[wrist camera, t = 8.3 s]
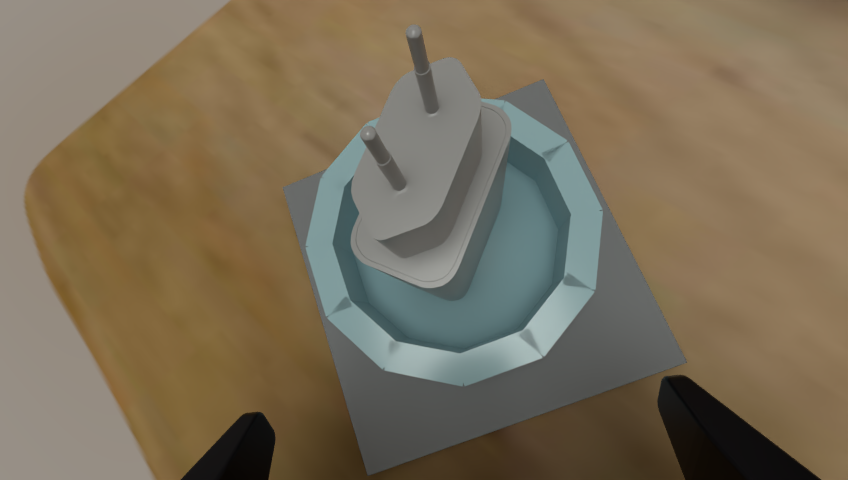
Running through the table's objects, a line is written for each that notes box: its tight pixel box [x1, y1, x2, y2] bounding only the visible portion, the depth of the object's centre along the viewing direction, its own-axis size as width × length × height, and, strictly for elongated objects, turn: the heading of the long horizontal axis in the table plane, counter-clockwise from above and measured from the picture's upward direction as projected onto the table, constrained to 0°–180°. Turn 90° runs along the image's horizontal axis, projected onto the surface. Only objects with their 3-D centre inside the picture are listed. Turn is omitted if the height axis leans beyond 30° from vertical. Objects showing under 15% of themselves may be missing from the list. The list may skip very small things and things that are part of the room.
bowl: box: [305, 99, 603, 387], centre depth 17 cm, size 11×11×3 cm
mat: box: [283, 79, 687, 476], centre depth 18 cm, size 14×14×1 cm
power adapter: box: [350, 25, 511, 301], centre depth 12 cm, size 3×5×12 cm, turn 158°
